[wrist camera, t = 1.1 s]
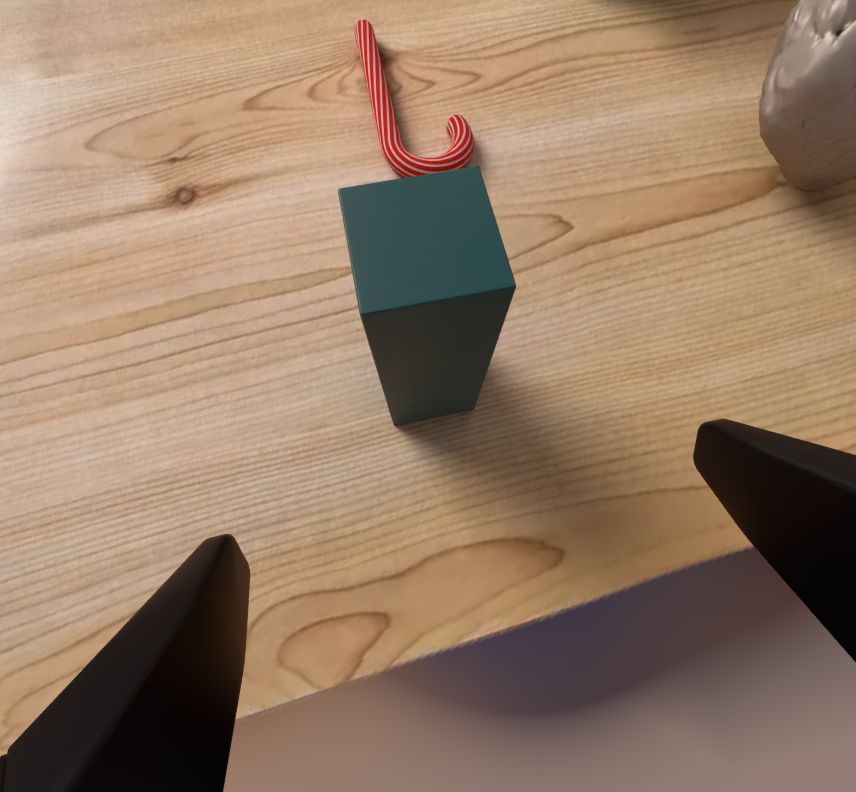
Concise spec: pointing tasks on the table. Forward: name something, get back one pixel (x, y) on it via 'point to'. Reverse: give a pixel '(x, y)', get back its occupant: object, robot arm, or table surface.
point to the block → (428, 287)
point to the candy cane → (388, 125)
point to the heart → (813, 95)
